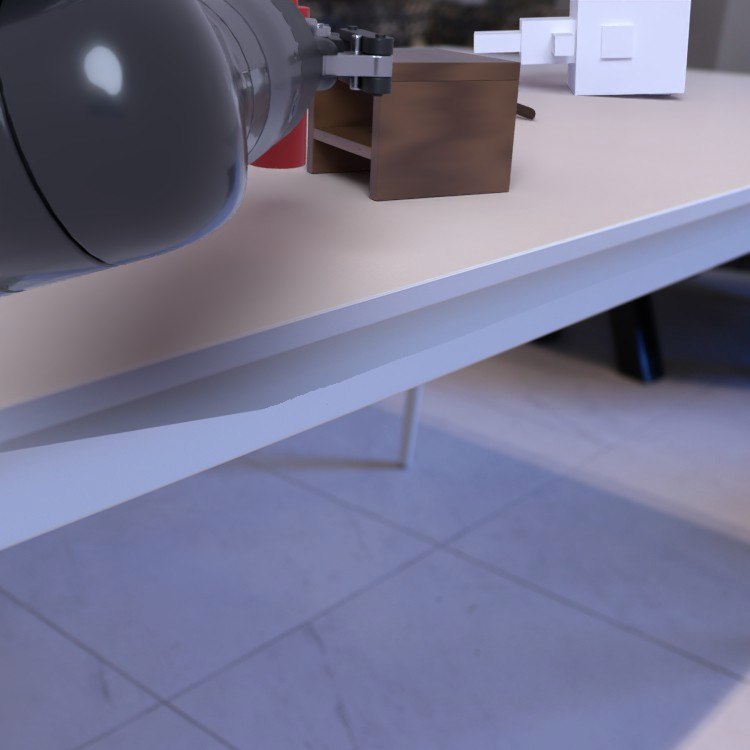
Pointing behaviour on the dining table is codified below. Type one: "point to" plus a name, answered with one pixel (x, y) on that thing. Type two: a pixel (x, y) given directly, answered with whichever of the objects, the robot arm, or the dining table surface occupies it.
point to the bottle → (288, 139)
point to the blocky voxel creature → (606, 45)
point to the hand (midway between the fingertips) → (287, 42)
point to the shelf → (422, 126)
